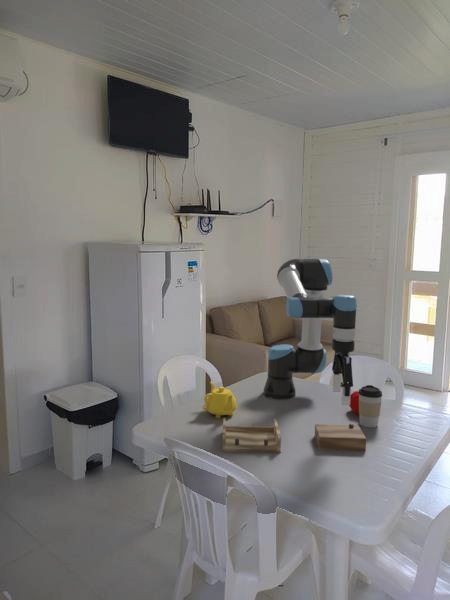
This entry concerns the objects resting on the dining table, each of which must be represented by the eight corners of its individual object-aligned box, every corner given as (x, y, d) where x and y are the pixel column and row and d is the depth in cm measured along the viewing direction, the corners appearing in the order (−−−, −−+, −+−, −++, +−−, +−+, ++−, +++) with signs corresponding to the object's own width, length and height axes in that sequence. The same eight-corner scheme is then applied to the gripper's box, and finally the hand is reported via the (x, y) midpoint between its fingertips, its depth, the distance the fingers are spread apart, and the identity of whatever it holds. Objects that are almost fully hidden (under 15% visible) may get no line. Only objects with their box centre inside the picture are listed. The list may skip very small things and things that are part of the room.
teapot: (193, 408, 194) (193, 383, 192) (224, 403, 200) (224, 378, 199) (213, 425, 176) (213, 397, 174) (246, 419, 182) (246, 392, 181)
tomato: (376, 419, 184) (377, 398, 183) (346, 414, 189) (347, 394, 188) (378, 410, 194) (379, 390, 193) (349, 406, 198) (350, 386, 197)
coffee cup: (382, 429, 174) (384, 392, 172) (357, 427, 176) (359, 390, 174) (378, 420, 183) (380, 385, 181) (355, 418, 185) (357, 383, 183)
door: (314, 437, 168) (315, 421, 167) (357, 438, 167) (358, 423, 166) (319, 450, 157) (319, 434, 156) (365, 452, 156) (366, 435, 155)
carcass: (223, 432, 170) (223, 418, 169) (275, 432, 170) (276, 419, 169) (222, 451, 154) (222, 436, 153) (280, 452, 154) (281, 437, 153)
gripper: (325, 332, 169) (323, 386, 172) (341, 347, 144) (338, 410, 147) (345, 332, 169) (342, 387, 172) (364, 347, 144) (361, 410, 147)
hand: (340, 398), depth 159 cm, fingers open, 13 cm apart
